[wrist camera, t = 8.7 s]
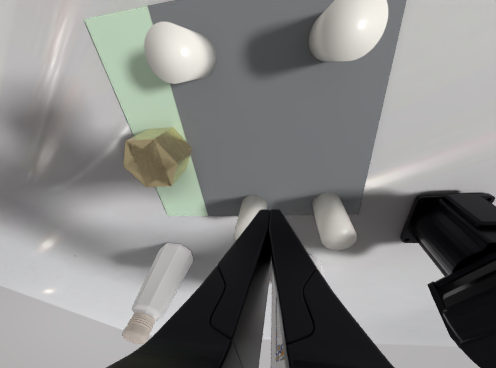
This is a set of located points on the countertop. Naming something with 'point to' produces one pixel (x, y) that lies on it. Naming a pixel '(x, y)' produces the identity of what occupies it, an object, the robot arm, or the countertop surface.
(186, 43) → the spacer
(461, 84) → the countertop surface
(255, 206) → the cylinder
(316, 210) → the cylinder
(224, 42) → the mat
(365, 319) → the countertop surface
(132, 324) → the pepper shaker
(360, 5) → the cylinder
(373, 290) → the countertop surface
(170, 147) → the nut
